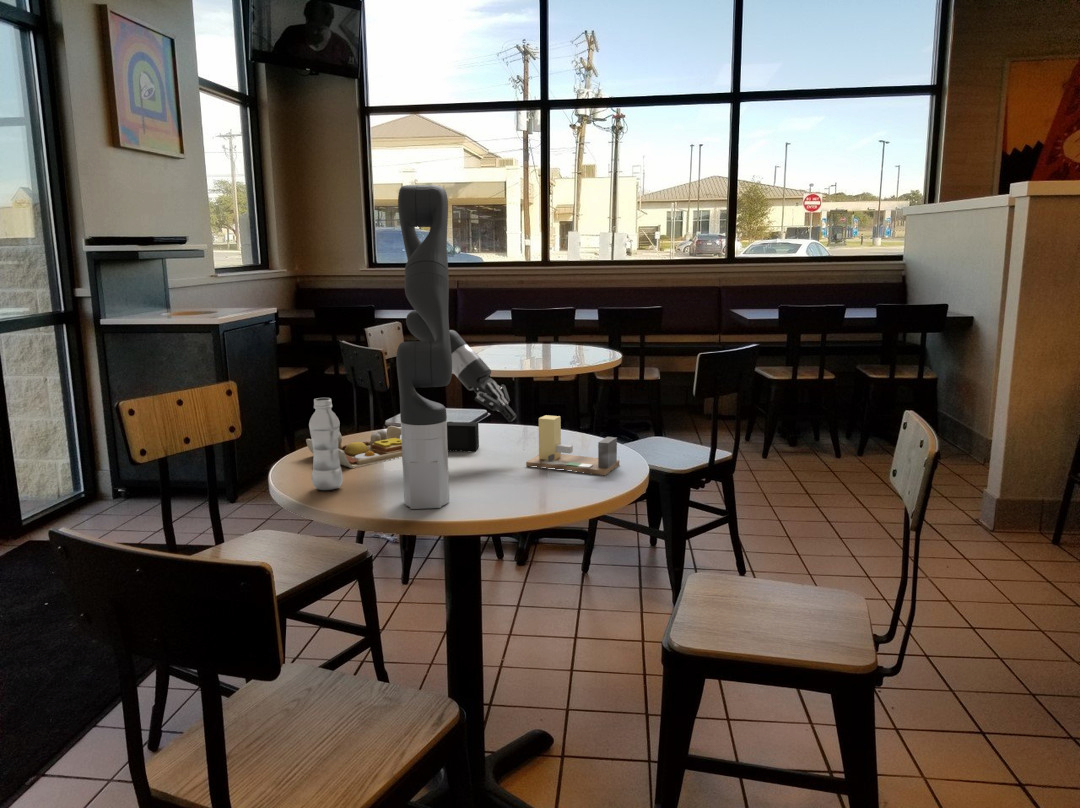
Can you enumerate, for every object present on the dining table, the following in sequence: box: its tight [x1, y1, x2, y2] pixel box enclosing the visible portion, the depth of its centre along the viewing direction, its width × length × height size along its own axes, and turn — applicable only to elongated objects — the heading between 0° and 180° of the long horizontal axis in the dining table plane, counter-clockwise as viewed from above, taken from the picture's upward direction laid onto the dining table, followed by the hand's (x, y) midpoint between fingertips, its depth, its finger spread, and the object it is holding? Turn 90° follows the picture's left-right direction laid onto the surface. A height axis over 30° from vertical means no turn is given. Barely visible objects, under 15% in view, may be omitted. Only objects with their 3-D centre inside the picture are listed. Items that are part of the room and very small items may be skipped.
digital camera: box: [447, 420, 480, 453], centre depth 206 cm, size 10×5×7 cm, turn 83°
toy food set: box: [305, 425, 402, 469], centre depth 201 cm, size 25×18×8 cm
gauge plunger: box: [538, 414, 574, 461], centre depth 189 cm, size 8×6×10 cm
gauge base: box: [525, 436, 620, 476], centre depth 188 cm, size 20×10×7 cm, turn 65°
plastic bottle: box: [308, 397, 344, 491], centre depth 171 cm, size 6×7×20 cm
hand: (513, 419), depth 194 cm, fingers closed
